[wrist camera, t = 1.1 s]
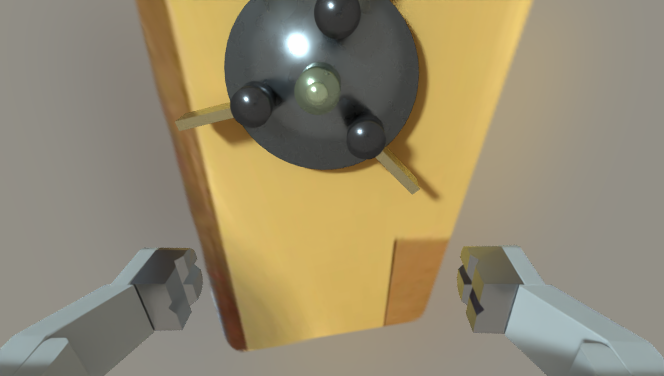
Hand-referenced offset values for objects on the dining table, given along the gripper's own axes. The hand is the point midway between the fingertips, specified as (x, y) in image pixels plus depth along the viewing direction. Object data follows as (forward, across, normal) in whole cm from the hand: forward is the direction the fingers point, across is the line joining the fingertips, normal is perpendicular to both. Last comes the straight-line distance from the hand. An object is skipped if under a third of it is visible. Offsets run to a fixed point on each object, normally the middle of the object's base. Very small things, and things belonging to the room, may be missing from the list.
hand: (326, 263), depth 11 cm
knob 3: (+34, -5, +10) cm, 35 cm away
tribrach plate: (+36, +3, +2) cm, 36 cm away
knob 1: (+34, +14, +4) cm, 37 cm away
